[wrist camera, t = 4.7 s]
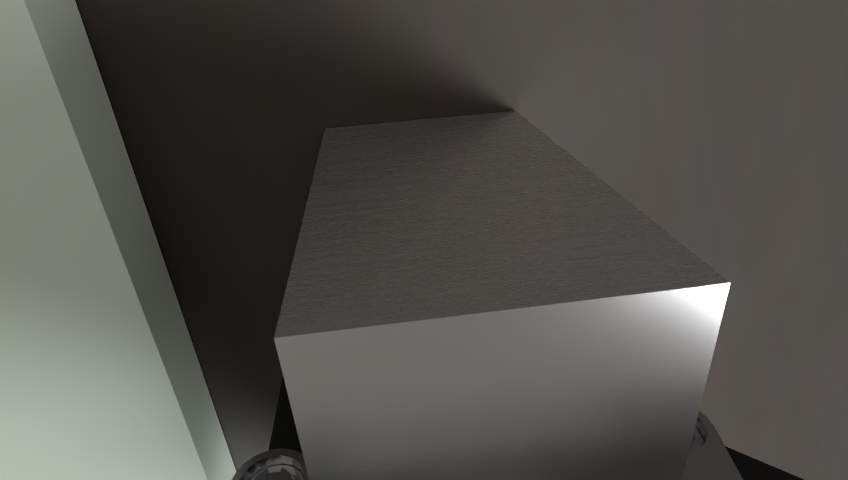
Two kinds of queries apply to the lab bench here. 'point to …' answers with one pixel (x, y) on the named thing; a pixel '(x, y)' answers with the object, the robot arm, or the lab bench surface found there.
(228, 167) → the lab bench surface
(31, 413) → the pin plate
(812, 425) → the lab bench surface
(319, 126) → the lab bench surface
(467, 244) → the block
